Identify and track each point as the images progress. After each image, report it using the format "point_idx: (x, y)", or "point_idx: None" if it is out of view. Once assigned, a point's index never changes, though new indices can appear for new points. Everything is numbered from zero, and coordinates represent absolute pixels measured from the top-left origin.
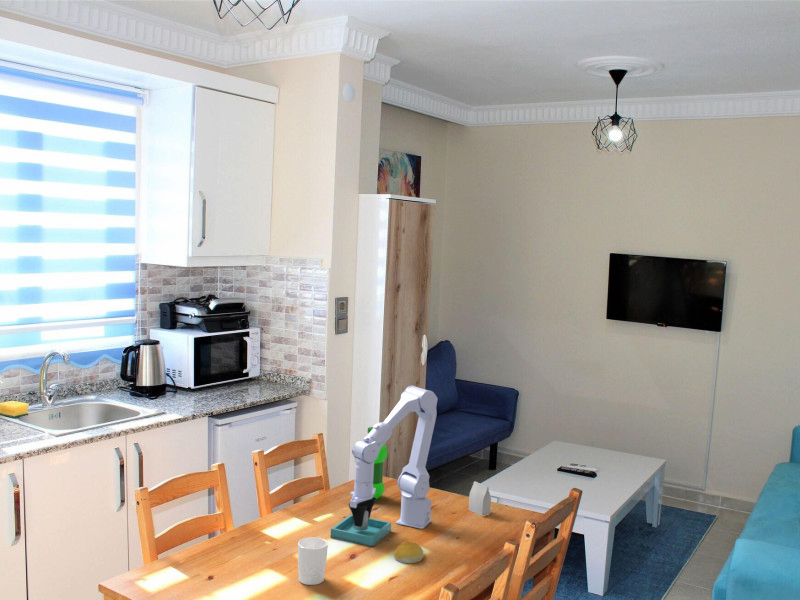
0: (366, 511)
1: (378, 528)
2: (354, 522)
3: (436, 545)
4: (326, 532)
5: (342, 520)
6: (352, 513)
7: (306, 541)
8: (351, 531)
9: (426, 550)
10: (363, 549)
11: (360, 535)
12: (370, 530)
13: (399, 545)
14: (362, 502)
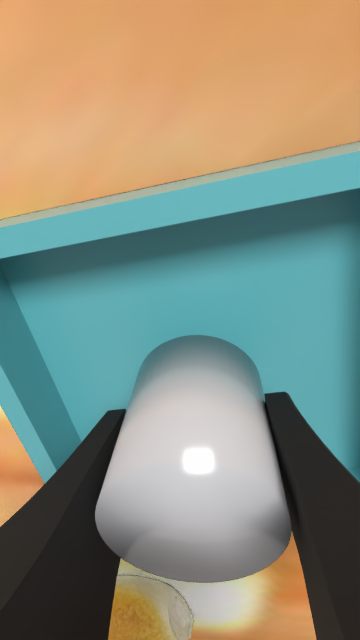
0: (253, 557)
1: (351, 419)
2: (90, 433)
3: (309, 634)
4: (10, 111)
5: (182, 188)
6: (9, 524)
7: None
8: (166, 306)
9: (235, 624)
10: (32, 472)
11: (44, 480)
12: None
13: (114, 628)
14: (329, 633)
